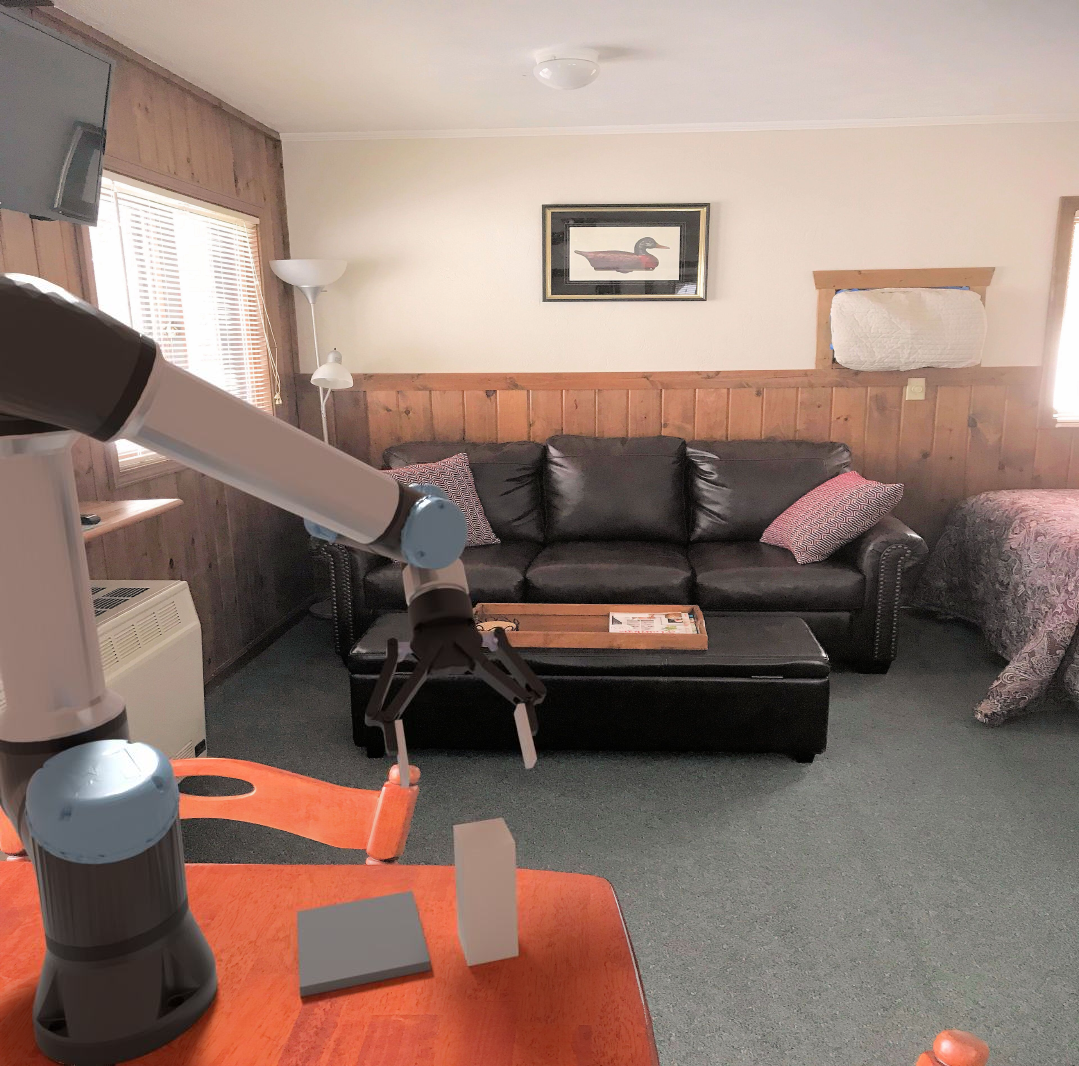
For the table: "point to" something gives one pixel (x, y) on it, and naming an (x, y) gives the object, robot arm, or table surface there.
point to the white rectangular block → (486, 890)
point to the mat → (360, 943)
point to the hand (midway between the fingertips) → (470, 774)
